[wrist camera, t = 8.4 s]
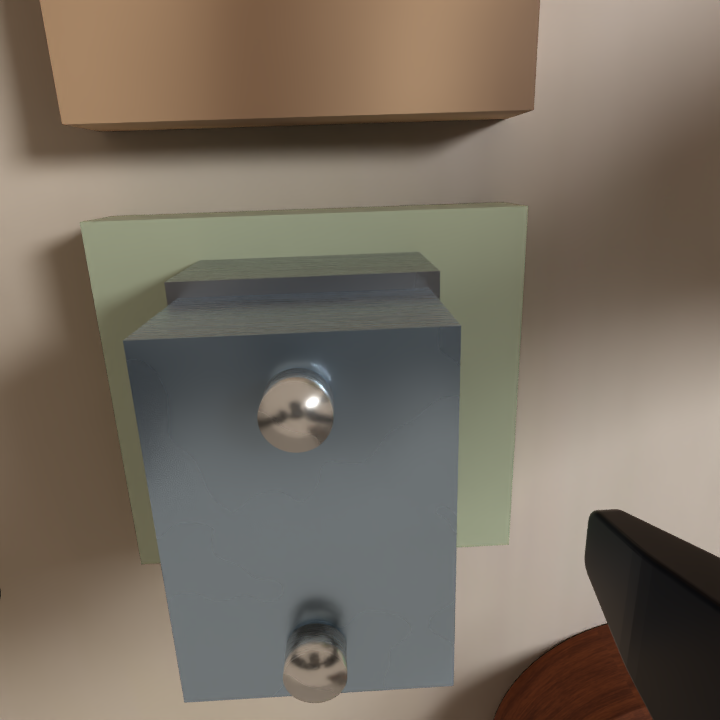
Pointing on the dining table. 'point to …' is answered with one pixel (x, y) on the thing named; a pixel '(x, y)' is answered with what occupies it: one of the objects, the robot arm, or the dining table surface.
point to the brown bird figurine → (576, 684)
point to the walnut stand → (289, 61)
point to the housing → (303, 473)
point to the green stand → (338, 237)
